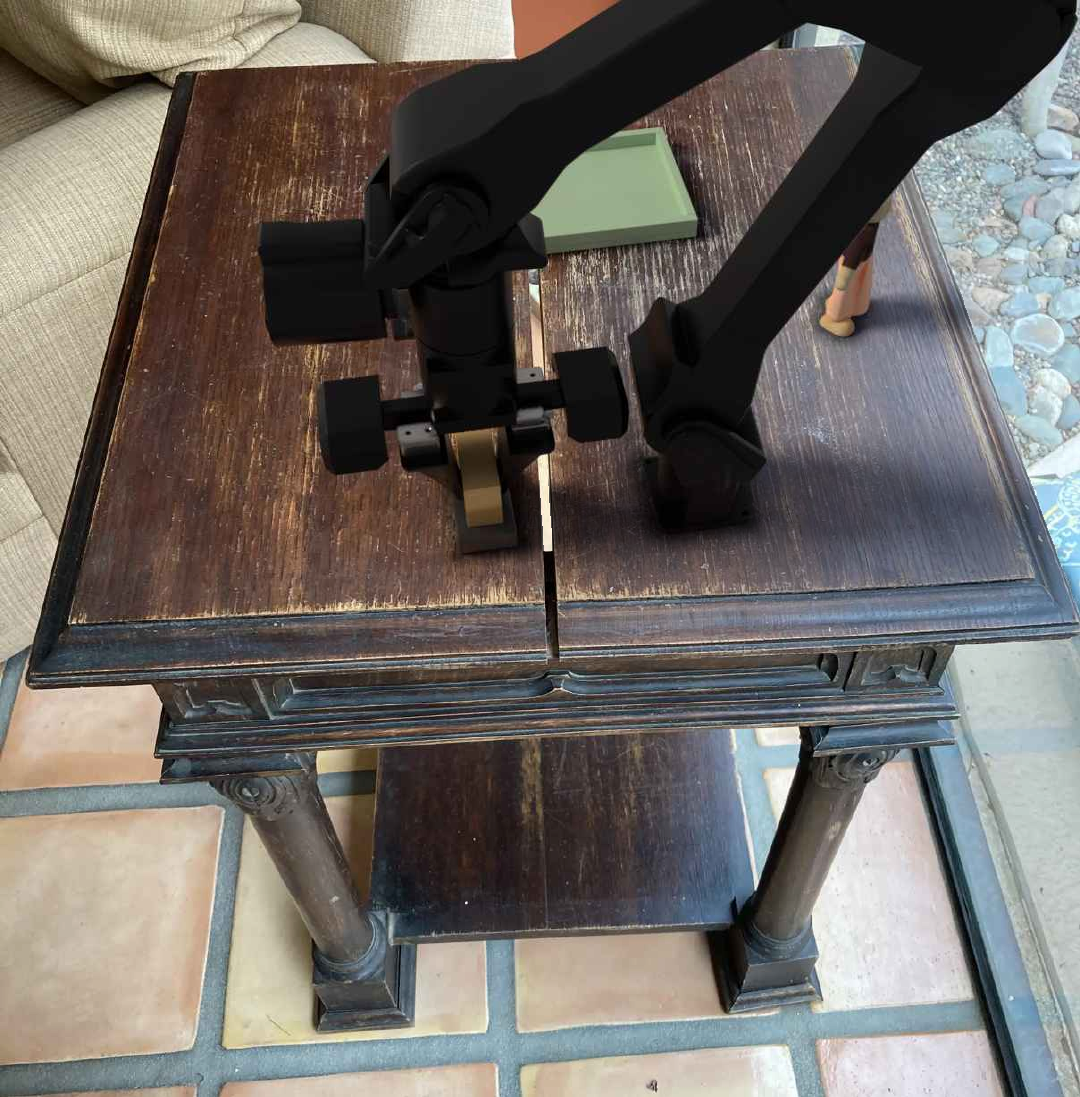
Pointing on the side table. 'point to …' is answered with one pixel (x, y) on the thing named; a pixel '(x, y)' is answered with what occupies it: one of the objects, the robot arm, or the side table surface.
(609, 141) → the tray
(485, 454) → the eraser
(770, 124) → the side table surface
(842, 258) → the grandmother figurine
